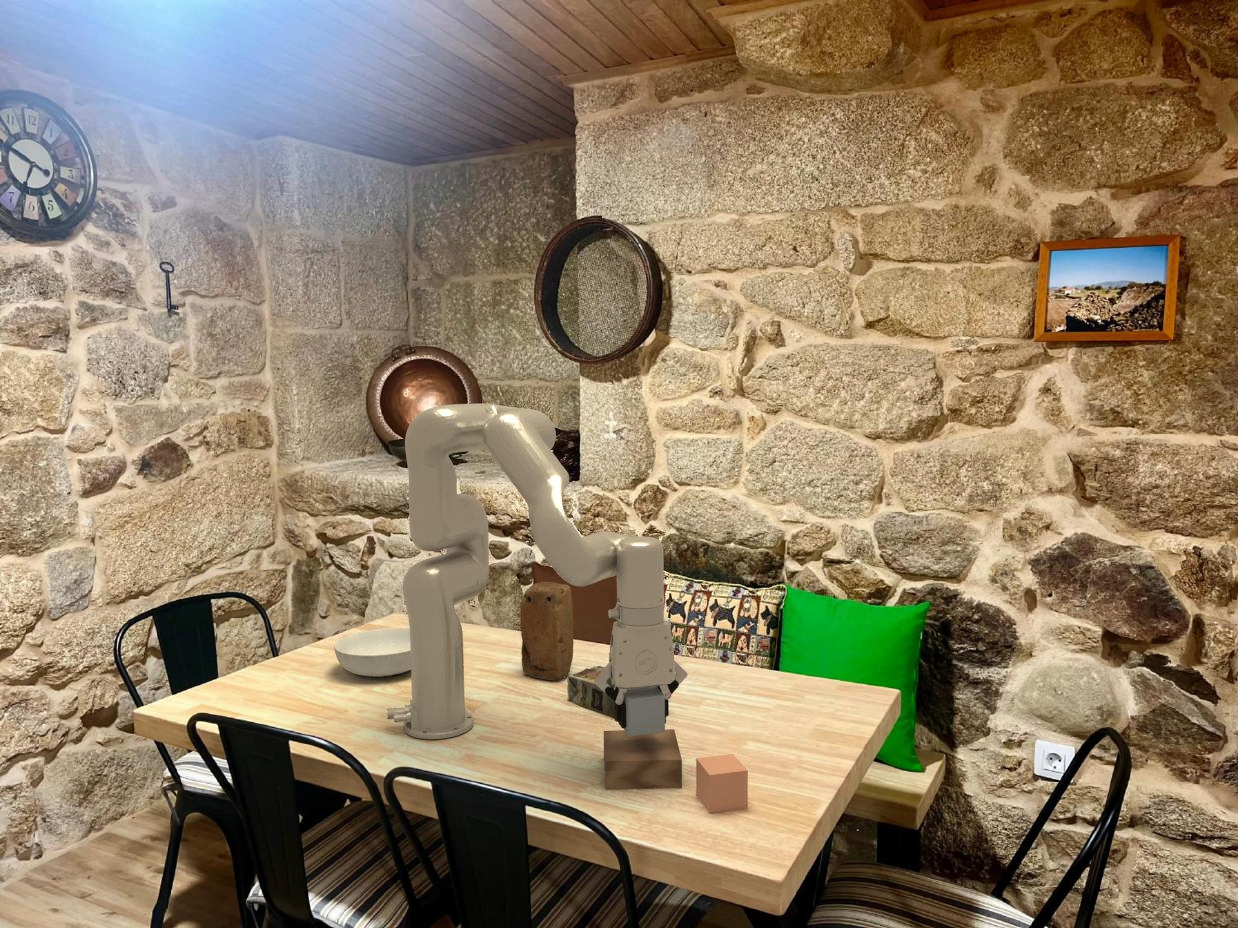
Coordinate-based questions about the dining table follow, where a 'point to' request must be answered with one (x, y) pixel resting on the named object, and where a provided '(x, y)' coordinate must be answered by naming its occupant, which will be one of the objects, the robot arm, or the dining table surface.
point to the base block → (642, 760)
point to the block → (547, 630)
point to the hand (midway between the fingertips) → (641, 721)
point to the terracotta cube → (721, 783)
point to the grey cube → (644, 711)
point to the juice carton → (590, 691)
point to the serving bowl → (375, 652)
